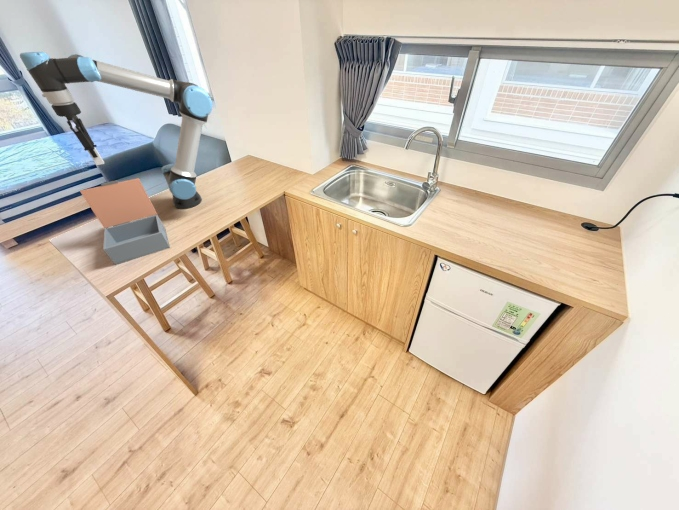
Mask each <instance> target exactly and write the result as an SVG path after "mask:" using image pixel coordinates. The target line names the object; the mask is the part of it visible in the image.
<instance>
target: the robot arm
mask: <svg viewBox="0 0 679 510" xmlns="http://www.w3.org/2000/svg"><path fill="white" fill-rule="evenodd" d="M19 58H20V60H21V62H22V63H23V65H24V66H25V68H26V70H27V72H28V73H29V75H30V76H31V78H32V80H33V81H34V83H35V84H36V85H37V87H38V88H39V90H40V91H41V92H42V94H41V95H42V98H46V100H47V102H48V103H49V104H51V108H52V110H53V111H54V113H55V114H56V116H58V117H65V118H66V123H67V125H68V126H69V129H70V130H71V131H72V133H73V134H74V135H75V137H76V138H77V140H78V141H79V143H80V144H81V145H82V147H83V148H84V149H83V150H84V151H85V152H86V151H87V152H88V154H89V155H90V157H91V158H92V160H93V161H94V163H95V165H96V166H100V165H105V160H103V157H102V156H101V154H100V153H99V151H98V149H97V147H98V146H97V144H95V143H94V141H93V139H92V137H91V136H90V134H89V132H88V131H87V129H86V127H85V125H84V123H83V120H82V119H81V118H79V117H78V115H80V114H81V113H82V111H81V109H80V107H79V106H78V104H77V102H75V98H74V97H73V95H72V93H71V92H70V91H69V88H68V87H67V86H66V84H67V85H68V84H76V83H77V84H78V83H94V82H99V83H103V84H108V85H111V86H115V87H119V88H123V89H127V90H132V91H136V92H140V93H143V94H147V95H148V94H149V95H153V96H157V97H160V98H165V99H168V100H170V101H171V103H175V104H179V111H178V112H179V114H180V115H181V117H182V118H181V124H180V131H179V137H178V143H177V149H176V157H175V162H174V163H169V164H166V165H163V166H162V167H161V172H162V174H163V177H164V179H165V181H166V183H167V185H168V189H169V192H170V193H171V194H172V195H171V196H172V203H173V206H174V207H175V208H176V209H181V210H182V209H183V210H186V209H190V208H194V207H196V206H198V205H199V204H201V203H202V201H203V199H202V196H201V195H200V193H199V192H198V190H197V186H196V183H197V182H196V181H197V174H196V172H195V167H196V163H197V157H198V152H199V145H200V142H201V141H200V140H201V136H202V130H203V125H204V124H206V123H208V119H209V115H210V114H211V113H212V110H213V101H212V99H211V96H210V95H209V93H208V92H207V91H206V90H205V89H204V88H202V87H201V86H198V85H197V84H195V83H193V82H188V81H180V80H176V79H173V78H171V79H169V80H167V79H165V78H164V79H163V78H160V77H158V76H157V77H156V76H153V75H149V74H146V73H142V72H139V71H135V70H131V69H129V68H128V69H127V68H125V67H120V66H116V65H113V64H109V63H105V62H103V61H99V60H95V59H92V57H88V56H83V55H80V54H71V55H69V56H68V57H62V58H61V57H60V58H51V57H50V56H49V55H48V54H47V53H46V52H45V51H27V52H21V53H20V54H19Z"/></svg>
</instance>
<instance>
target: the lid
mask: <svg viewBox="0 0 679 510" xmlns="http://www.w3.org/2000/svg"><path fill="white" fill-rule="evenodd" d="M79 192H80V193H81V195H82V197H83V198H84V200H85V202H86V203H87V205H88V206H89V207H90V208H91V210H92V212H93V214H94V215H95V216H96V218H97V219H98V221H99V223H100V224H101V226H102V227H103V228H104V229H106V228H109V227H113V226H115V225H119V224H123V223H126V222H132V221H135V220H139V219H143V218H147V217H150V216H154V215H158V213H157V210H156V209H155V206H154V205H153V203H152V201H151V199H150V197H149V195H148V193H147V191H146V190H145V188H144V186H143V184H142V182H141V179H140V178H133V179H129V180H124V181H123V180H122V181H118V180H112V181H107V182H103V183H100V186H96V187H90V188H86V189H81V190H80V191H79Z"/></svg>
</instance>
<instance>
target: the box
mask: <svg viewBox="0 0 679 510" xmlns="http://www.w3.org/2000/svg"><path fill="white" fill-rule="evenodd" d="M103 234H104V235H103V251H104V252H105V254H106V255H107V256H108V258H110V260H111V262H113V264H114V265H115V266H116V265H119V264H123V263H125V262H130V261H133V260H136V259H140V258H142V257H145V256H148V255H151V254H155V253H157V252H158V253H159V252H160V251H164V250H168V249H170V248H171V245H170V243H169V239H168V234H167V231H166V228H165V225H164V223H163V222H162V221H161V218H160V217H159V215H158V214H156V215H153V216H149V217H145V218H141V219H138V220H134V221H130V222H128V223H124V224H120V225H117V226H111V227H108V228H104V233H103Z"/></svg>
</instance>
